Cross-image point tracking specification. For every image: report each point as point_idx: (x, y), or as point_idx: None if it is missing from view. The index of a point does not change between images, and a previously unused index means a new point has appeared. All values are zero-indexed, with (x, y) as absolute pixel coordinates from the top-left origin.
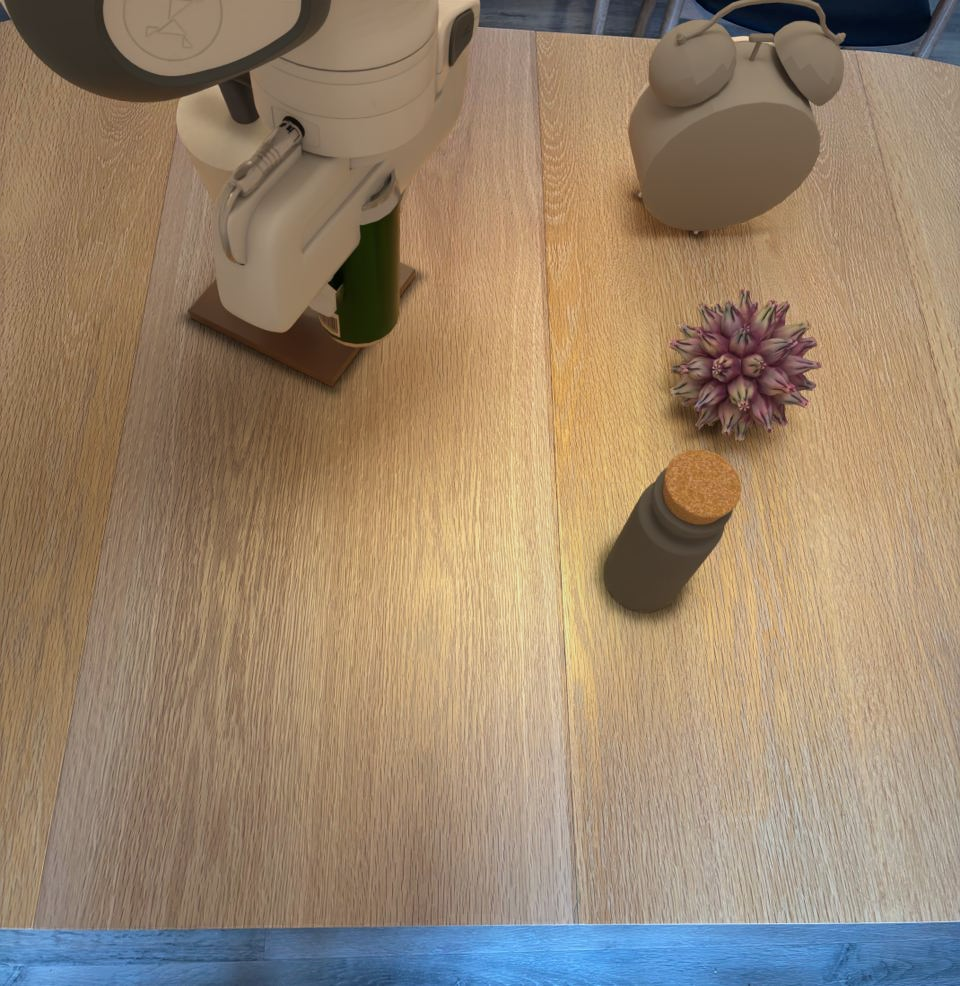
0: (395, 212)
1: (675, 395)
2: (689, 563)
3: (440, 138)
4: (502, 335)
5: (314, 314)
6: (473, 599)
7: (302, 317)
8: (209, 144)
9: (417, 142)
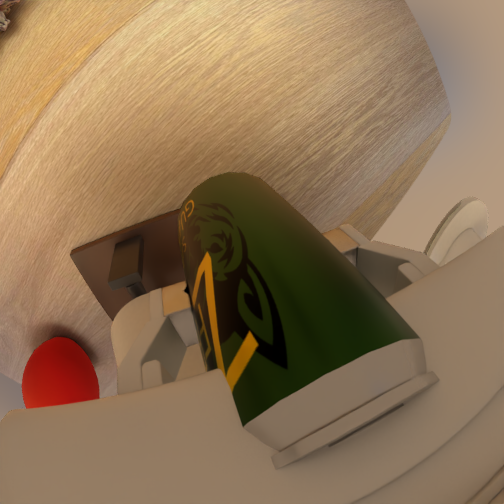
0: (320, 348)
1: (8, 20)
2: None
3: (41, 429)
4: (47, 164)
5: (158, 264)
6: (253, 7)
7: (167, 266)
8: None
9: (140, 493)
